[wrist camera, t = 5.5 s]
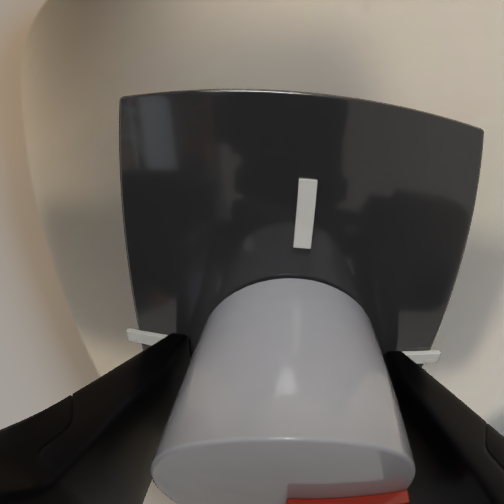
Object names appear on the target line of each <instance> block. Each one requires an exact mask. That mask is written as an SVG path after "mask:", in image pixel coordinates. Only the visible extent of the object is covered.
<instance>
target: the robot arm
mask: <svg viewBox="0 0 504 504" xmlns="http://www.w3.org/2000/svg"><path fill="white" fill-rule="evenodd" d="M384 360H385V363H386V366H387V369H388V372H389V375H390V378H391V381H392V384H393V387H394V390H395V394H396V397H397V400H398V403H399V407H400V410H401V413H402V417H403V420H404V424H405V427H406V431H407V435H408V438H409V442H410V446H411V450H412V454H413V458H414V462H415V466H416V473H415V477H414V479H413V482H412V483H411V485H410V486H409V488H408V489H407V490H408V494H409V499H410V502H409V503H408V504H504V437H503V436H502V435H501V434H500V433H498V432H497V431H496V430H495V429H494V428H493V427H491V426H490V425H489V424H486V422H485V421H484V420H483V419H482V418H481V417H480V416H478V415H477V414H476V413H475V412H474V411H473V410H471V409H470V408H469V407H468V406H467V405H465V404H464V403H463V402H462V401H461V400H460V399H458V398H457V397H456V396H455V395H454V394H452V393H451V392H450V391H449V390H448V389H446V388H445V387H444V386H443V385H442V384H440V383H439V382H438V381H437V380H436V379H434V378H433V377H432V376H431V375H430V374H428V373H427V372H426V371H425V370H424V369H422V368H421V367H420V366H419V365H418V364H416V363H415V362H414V361H413V360H411V359H410V358H409V357H408V356H407V355H405V354H404V353H403V352H401V351H388V352H386V354H385V355H384ZM189 364H190V349H189V339H188V336H187V335H185V334H178V333H171V334H169V335H168V336H166V337H165V338H163V339H161V340H160V341H158V342H157V343H155V344H153V345H152V346H150V347H149V348H147V349H145V350H144V351H142V352H141V353H139V354H137V355H136V356H134V357H133V358H131V359H129V360H128V361H126V362H125V363H123V364H121V365H120V366H118V367H116V368H115V369H113V370H112V371H110V372H108V373H107V374H105V375H103V376H102V377H100V378H98V379H97V380H95V381H94V382H92V383H90V384H89V385H87V386H85V387H84V388H82V389H80V390H79V391H77V392H75V393H74V394H73V396H71V395H70V396H68V397H67V398H65V399H63V400H61V401H60V402H58V403H56V404H54V405H53V406H51V407H49V408H47V409H45V410H44V411H42V412H39V413H38V414H35V415H33V416H31V417H29V418H27V419H25V420H22V421H20V422H18V423H16V424H13V425H11V426H8V427H6V428H4V429H1V430H0V504H143V501H144V498H145V496H146V493H147V491H148V488H149V485H150V483H151V480H152V477H151V472H150V466H151V463H152V460H153V457H154V455H155V452H156V449H157V447H158V444H159V441H160V439H161V436H162V433H163V431H164V428H165V426H166V423H167V420H168V418H169V415H170V412H171V410H172V407H173V405H174V402H175V399H176V397H177V394H178V392H179V389H180V387H181V384H182V381H183V379H184V376H185V374H186V371H187V369H188V366H189Z"/></svg>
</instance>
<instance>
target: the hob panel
mask: <svg viewBox="0 0 504 504" xmlns="http://www.w3.org/2000/svg"><path fill="white" fill-rule="evenodd" d="M483 138H484V131H483V130H482V129H481V128H478V127H475V126H472V125H469V124H466V123H463V122H459V121H456V120H453V119H449V118H446V117H442V116H439V115H435V114H431V113H427V112H423V111H419V110H415V109H411V108H406V107H402V106H397V105H392V104H387V103H382V102H376V101H370V100H364V99H358V98H352V97H345V96H337V95H329V94H320V93H310V92H298V91H284V90H264V89H203V90H183V91H169V92H157V93H147V94H139V95H131V96H123V97H121V98H120V107H119V153H120V180H121V197H122V210H123V222H124V232H125V242H126V250H127V258H128V266H129V273H130V280H131V287H132V293H133V299H134V305H135V311H136V316H137V322H138V327H139V330H136V329H131V328H128V329H127V331H126V333H127V337H128V341H130V342H135V343H141V344H142V346H143V351H144V350H145V349H147V348H149V347H150V346H152V345H153V344H155V343H157V342H158V341H160V340H161V339H163V338H165V337H166V336H168V335H169V334H171V333H178V334H185V335H187V336H188V339H189V349H190V361H191V359H192V356H193V353H194V351H195V348H196V346H197V343H198V341H199V338H200V336H201V333H202V331H203V328H204V326H205V323H206V321H207V319H208V318H209V316H210V314H211V313H212V312H213V310H214V309H215V308H216V307H217V306H218V305H219V304H220V303H221V302H222V301H223V300H225V299H226V298H227V297H229V296H230V295H232V294H233V293H235V292H236V291H238V290H241V289H243V288H245V287H247V286H249V285H252V284H255V283H258V282H262V281H267V280H272V279H282V278H299V279H306V280H313V281H317V282H321V283H324V284H327V285H329V286H332V287H334V288H337V289H338V290H340V291H342V292H344V293H346V294H347V295H348V296H350V297H351V298H352V299H354V300H355V301H356V302H357V303H358V304H359V305H360V306H361V307H362V308H363V310H364V311H365V313H366V314H367V316H368V317H369V319H370V322H371V324H372V326H373V329H374V332H375V334H376V337H377V340H378V343H379V345H380V348H381V351H382V354H383V357H384V355H385V354H386V352H388V351H401V352H403V353H404V354H405V355H407V356H408V357H409V358H410V359H411V360H413V361H414V362H415V363H416V364H418V365H419V366H420V367H421V368H422V366H423V364H424V363H437V361H438V359H439V357H440V355H441V352H440V350H430V348H431V346H432V344H433V341H434V339H435V336H436V334H437V332H438V329H439V327H440V324H441V321H442V319H443V316H444V313H445V311H446V308H447V305H448V302H449V300H450V297H451V294H452V291H453V288H454V284H455V281H456V278H457V275H458V272H459V268H460V265H461V261H462V258H463V254H464V250H465V246H466V242H467V238H468V234H469V230H470V225H471V221H472V216H473V211H474V206H475V200H476V195H477V188H478V182H479V175H480V168H481V159H482V150H483Z"/></svg>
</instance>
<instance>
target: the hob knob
mask: <svg viewBox="0 0 504 504" xmlns="http://www.w3.org/2000/svg"><path fill="white" fill-rule="evenodd" d="M150 472H151V477H152V479H153V482H154V483H155V484H156V486H157V487H158V488H159V489H160V490H161V491H162V492H163V493H164V494H165V495H166V496H167V497H169V498H170V499H171V500H173V501H174V502H176V503H178V504H408V503H409V502H410V499H409V494H408V490H407V489H408V488H409V486H410V485H411V483H412V482H413V479H414V477H415V473H416V466H415V462H414V458H413V454H412V450H411V446H410V442H409V438H408V435H407V431H406V427H405V424H404V420H403V417H402V413H401V410H400V407H399V403H398V400H397V397H396V394H395V390H394V387H393V384H392V381H391V378H390V375H389V372H388V369H387V366H386V363H385V360H384V357H383V354H382V351H381V348H380V345H379V343H378V340H377V337H376V334H375V332H374V329H373V326H372V324H371V322H370V319H369V317H368V316H367V314H366V313H365V311H364V310H363V308H362V307H361V306H360V305H359V304H358V303H357V302H356V301H355V300H354V299H352V298H351V297H350V296H348V295H347V294H346V293H344V292H342V291H340V290H338V289H337V288H334V287H332V286H329V285H327V284H324V283H321V282H317V281H313V280H306V279H299V278H282V279H272V280H267V281H262V282H258V283H255V284H252V285H249V286H247V287H245V288H243V289H241V290H238V291H236V292H235V293H233V294H232V295H230V296H229V297H227V298H226V299H225V300H223V301H222V302H221V303H220V304H219V305H218V306H217V307H216V308H215V309H214V310H213V312H212V313H211V314H210V316H209V318H208V319H207V321H206V323H205V326H204V328H203V331H202V333H201V336H200V338H199V341H198V343H197V346H196V348H195V351H194V353H193V356H192V359H191V361H190V364H189V366H188V369H187V371H186V374H185V376H184V379H183V381H182V384H181V387H180V389H179V392H178V394H177V397H176V399H175V402H174V405H173V407H172V410H171V412H170V415H169V418H168V420H167V423H166V426H165V428H164V431H163V433H162V436H161V439H160V441H159V444H158V447H157V449H156V452H155V455H154V457H153V460H152V463H151V466H150Z"/></svg>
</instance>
